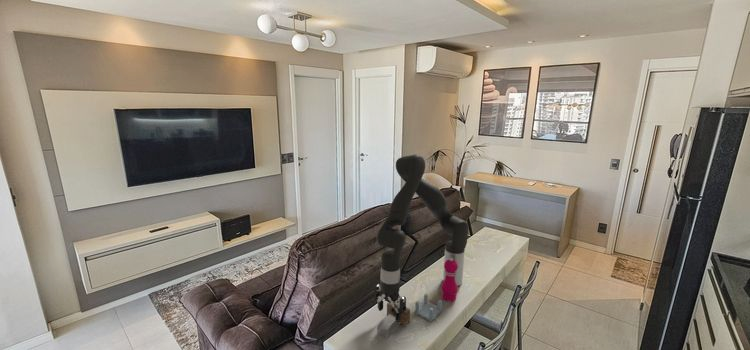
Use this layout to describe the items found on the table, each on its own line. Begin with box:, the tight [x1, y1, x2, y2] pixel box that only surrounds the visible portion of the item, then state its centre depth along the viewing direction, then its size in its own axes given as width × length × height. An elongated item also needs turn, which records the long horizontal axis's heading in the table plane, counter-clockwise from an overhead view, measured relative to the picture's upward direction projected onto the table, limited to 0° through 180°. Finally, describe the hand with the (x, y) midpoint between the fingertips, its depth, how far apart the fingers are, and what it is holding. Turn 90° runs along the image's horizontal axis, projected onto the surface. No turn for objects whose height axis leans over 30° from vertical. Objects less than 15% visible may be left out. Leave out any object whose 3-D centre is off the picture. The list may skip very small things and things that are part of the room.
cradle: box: [413, 293, 443, 322], centre depth 133 cm, size 9×8×5 cm
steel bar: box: [376, 309, 401, 340], centre depth 125 cm, size 16×4×4 cm, turn 146°
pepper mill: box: [440, 257, 459, 302], centre depth 141 cm, size 7×7×20 cm
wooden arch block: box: [386, 302, 411, 327], centre depth 129 cm, size 3×10×6 cm, turn 49°
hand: (389, 314), depth 124 cm, fingers open, 8 cm apart
